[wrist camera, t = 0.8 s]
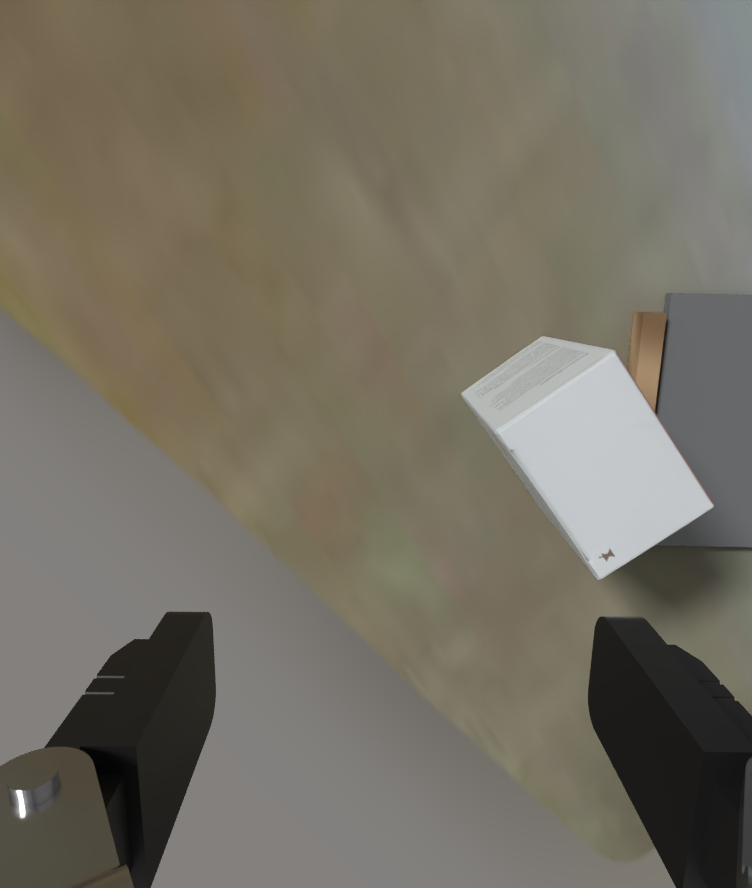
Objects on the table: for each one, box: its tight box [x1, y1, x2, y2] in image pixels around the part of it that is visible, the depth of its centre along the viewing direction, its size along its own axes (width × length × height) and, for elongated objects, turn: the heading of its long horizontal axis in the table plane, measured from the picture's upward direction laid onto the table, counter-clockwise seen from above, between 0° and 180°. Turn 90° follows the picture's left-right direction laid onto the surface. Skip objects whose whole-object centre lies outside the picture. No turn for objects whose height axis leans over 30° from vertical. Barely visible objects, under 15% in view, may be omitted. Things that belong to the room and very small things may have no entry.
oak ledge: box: [628, 312, 667, 412], centre depth 34 cm, size 12×1×1 cm, turn 179°
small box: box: [461, 336, 714, 580], centre depth 30 cm, size 8×6×10 cm
